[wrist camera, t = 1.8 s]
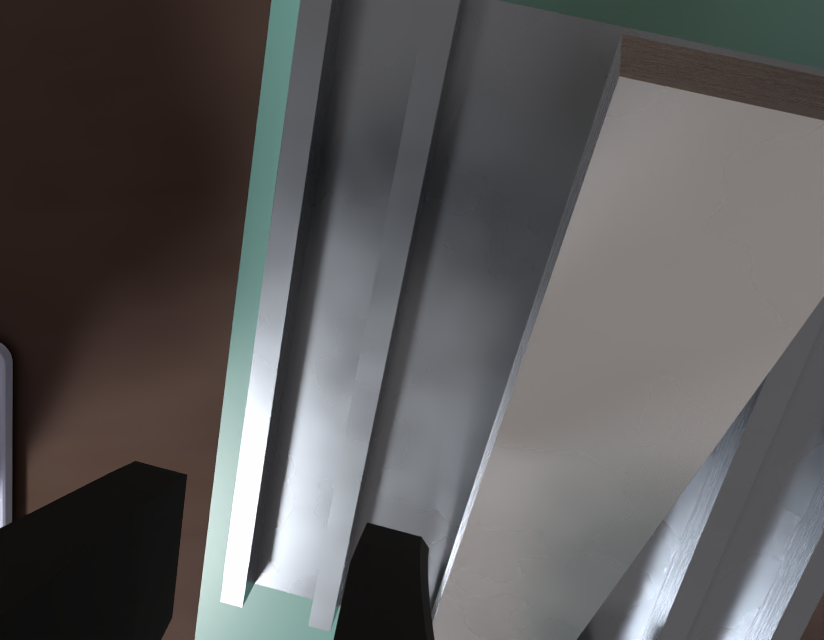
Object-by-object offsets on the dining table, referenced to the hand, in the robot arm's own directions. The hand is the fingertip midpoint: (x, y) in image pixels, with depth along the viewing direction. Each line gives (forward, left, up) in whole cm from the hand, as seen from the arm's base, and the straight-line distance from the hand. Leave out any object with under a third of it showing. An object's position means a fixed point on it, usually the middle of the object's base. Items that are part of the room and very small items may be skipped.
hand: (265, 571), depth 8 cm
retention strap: (+3, 0, -4) cm, 5 cm away
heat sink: (+4, +1, -10) cm, 10 cm away
